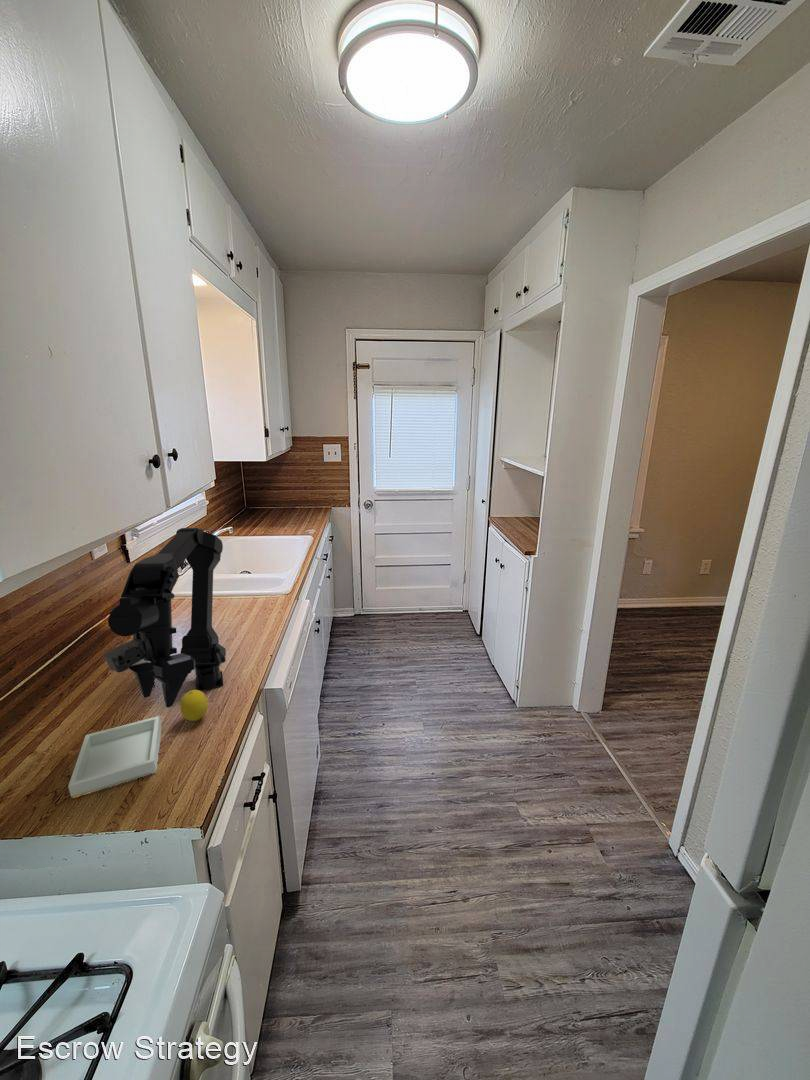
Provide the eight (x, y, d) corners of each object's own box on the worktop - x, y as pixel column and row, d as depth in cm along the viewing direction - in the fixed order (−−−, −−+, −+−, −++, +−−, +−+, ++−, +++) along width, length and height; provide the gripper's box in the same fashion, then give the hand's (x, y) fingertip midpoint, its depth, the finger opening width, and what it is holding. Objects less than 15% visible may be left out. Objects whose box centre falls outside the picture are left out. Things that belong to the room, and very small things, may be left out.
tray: (88, 746, 89) (85, 735, 88) (161, 726, 95) (159, 715, 94) (71, 799, 77) (68, 786, 76) (156, 773, 83) (153, 761, 82)
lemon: (180, 720, 97) (174, 690, 95) (204, 708, 101) (199, 680, 98) (188, 732, 93) (182, 702, 91) (213, 720, 97) (208, 690, 95)
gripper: (89, 627, 83) (91, 705, 83) (132, 639, 72) (135, 729, 72) (149, 617, 92) (151, 688, 92) (195, 626, 81) (197, 706, 82)
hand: (157, 701), depth 84 cm, fingers open, 9 cm apart
